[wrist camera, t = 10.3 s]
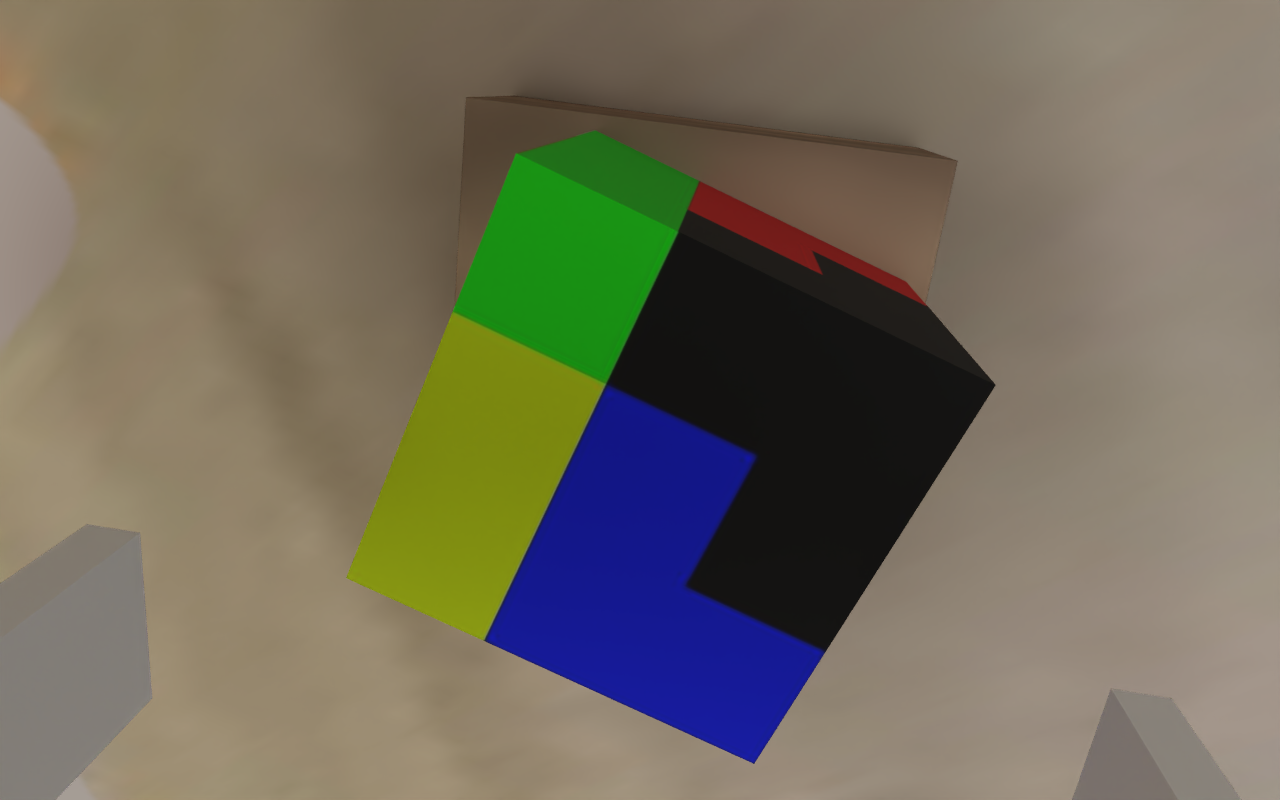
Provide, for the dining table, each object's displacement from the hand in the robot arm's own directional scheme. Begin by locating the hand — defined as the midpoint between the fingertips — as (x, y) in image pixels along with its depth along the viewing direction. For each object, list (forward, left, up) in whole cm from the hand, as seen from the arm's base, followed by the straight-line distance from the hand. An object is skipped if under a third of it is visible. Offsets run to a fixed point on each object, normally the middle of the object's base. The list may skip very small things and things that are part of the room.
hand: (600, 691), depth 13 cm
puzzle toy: (0, 0, -17) cm, 17 cm away
